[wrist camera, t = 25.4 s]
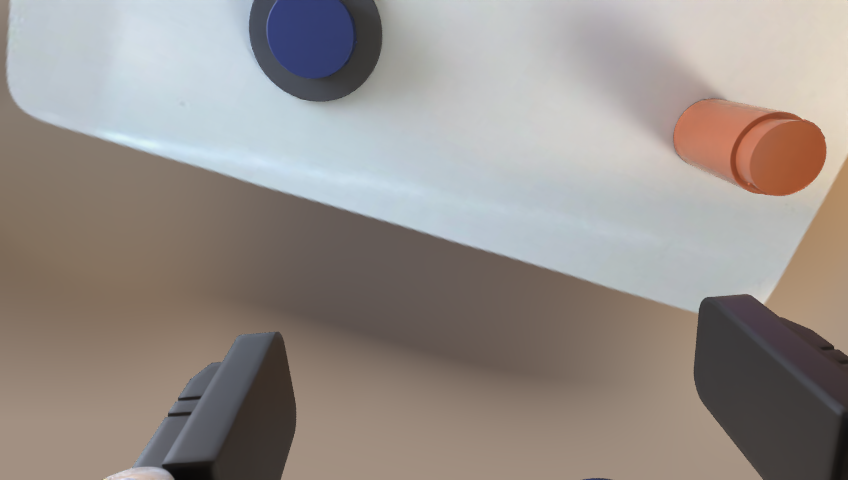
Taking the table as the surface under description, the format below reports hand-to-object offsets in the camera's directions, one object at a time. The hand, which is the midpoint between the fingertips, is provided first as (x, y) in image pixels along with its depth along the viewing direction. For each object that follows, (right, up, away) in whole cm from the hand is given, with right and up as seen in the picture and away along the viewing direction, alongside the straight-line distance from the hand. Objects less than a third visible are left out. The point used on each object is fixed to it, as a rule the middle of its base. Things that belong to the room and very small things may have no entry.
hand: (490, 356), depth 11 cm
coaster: (-9, +16, +28) cm, 34 cm away
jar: (+20, +10, +31) cm, 38 cm away
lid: (-9, +16, +26) cm, 32 cm away
